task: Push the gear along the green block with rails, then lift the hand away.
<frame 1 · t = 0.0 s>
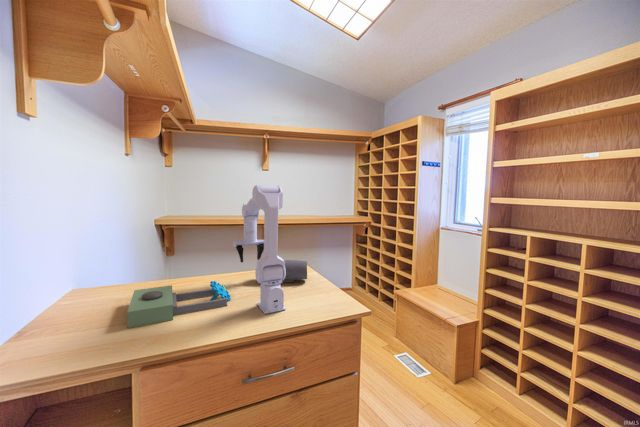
hand: (250, 261, 122), 10 cm above the worktop, tool pointing down, fingers open, 7 cm apart
gear: (220, 300, 104), on the worktop
green block with rails: (200, 303, 100), on the worktop
bluetooth speaker: (282, 281, 127), on the worktop
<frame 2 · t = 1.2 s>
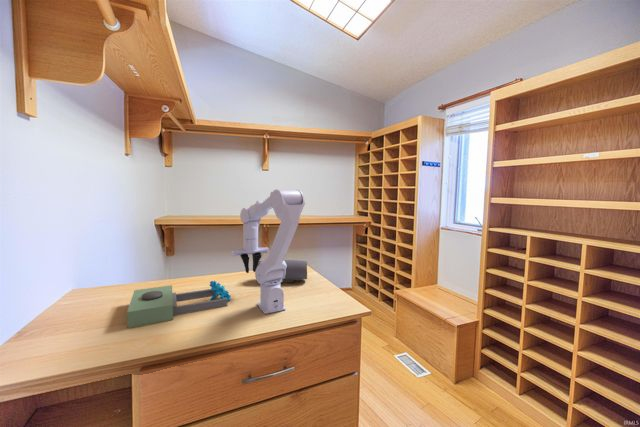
hand: (250, 271, 109), 9 cm above the worktop, tool pointing down, fingers closed
nothing on the worktop moved.
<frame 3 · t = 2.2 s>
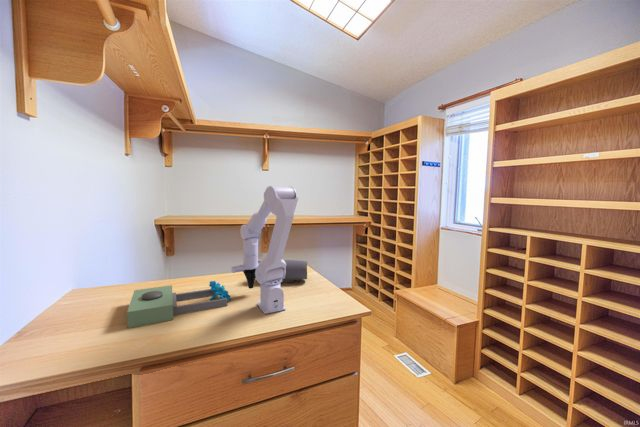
hand: (250, 287, 109), 3 cm above the worktop, tool pointing down, fingers closed
nothing on the worktop moved.
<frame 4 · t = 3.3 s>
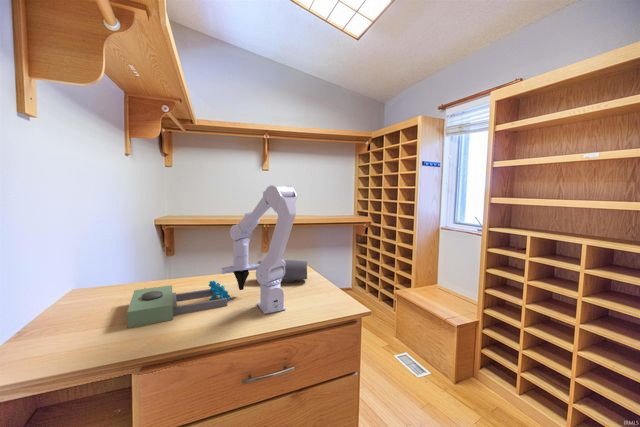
hand: (241, 289, 107), 3 cm above the worktop, tool pointing down, fingers closed
nothing on the worktop moved.
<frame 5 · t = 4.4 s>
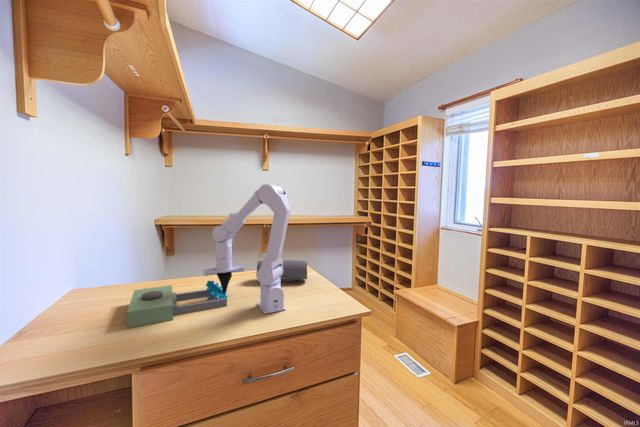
hand: (224, 291, 104), 3 cm above the worktop, tool pointing down, fingers closed
gear: (217, 300, 104), on the worktop, touching gripper
everything else where it was.
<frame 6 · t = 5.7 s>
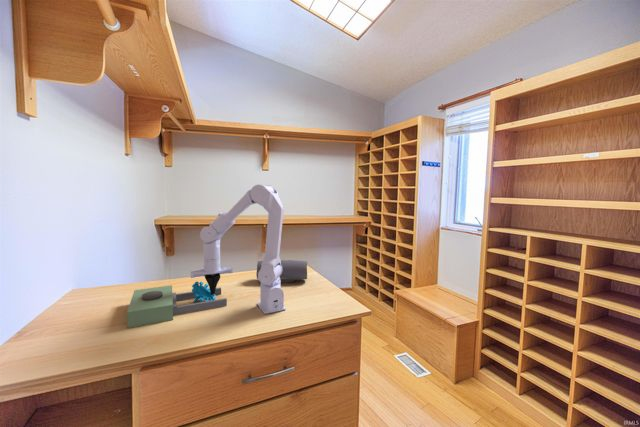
hand: (212, 293, 102), 3 cm above the worktop, tool pointing down, fingers closed
gear: (204, 302, 102), on the worktop, touching gripper
everything else where it was.
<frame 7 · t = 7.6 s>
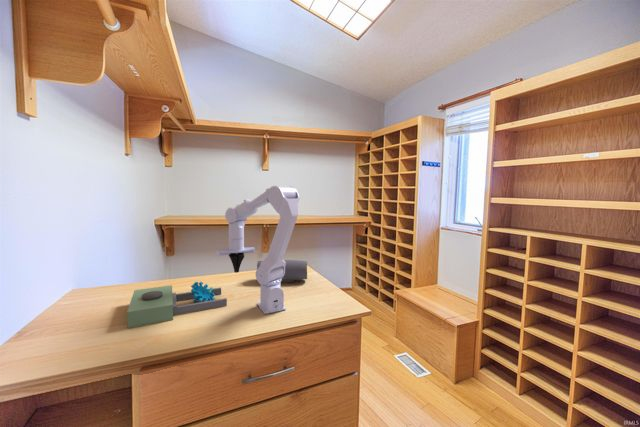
hand: (236, 271, 108), 9 cm above the worktop, tool pointing down, fingers closed
gear: (204, 302, 102), on the worktop
everything else where it was.
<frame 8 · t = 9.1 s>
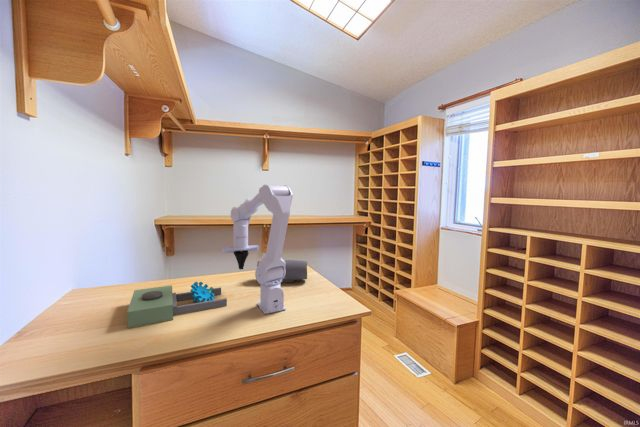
hand: (241, 268, 113), 9 cm above the worktop, tool pointing down, fingers closed
nothing on the worktop moved.
at the end: gear inside the target area on the green block with rails (3.6 cm from its centre), point 0.0 cm above the green block with rails's base; gear tilted 0°; gear moved 6.0 cm from its start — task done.
